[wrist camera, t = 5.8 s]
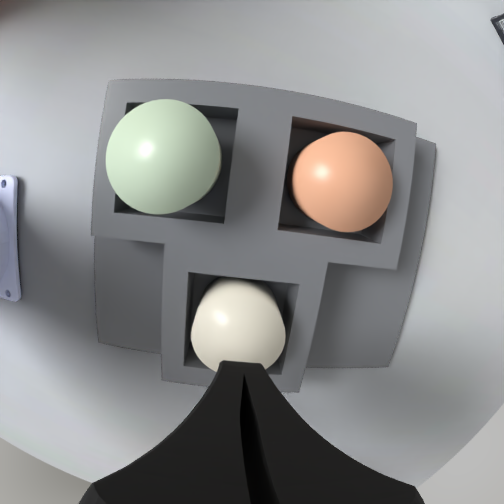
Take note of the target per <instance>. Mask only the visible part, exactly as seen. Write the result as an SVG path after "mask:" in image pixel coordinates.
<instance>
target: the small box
mask: <svg viewBox="0 0 504 504" xmlns="http://www.w3.org/2000/svg"><path fill="white" fill-rule="evenodd" d="M491 21H492V23H493V25H494V27H495V29H496V30H497V32H498V34H499V36H500V38H501V40H502V42H503V44H504V14H502V15H499V16H495V17H493V18H491Z"/></svg>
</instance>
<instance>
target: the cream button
mask: <svg viewBox="0 0 504 504" xmlns="http://www.w3.org/2000/svg"><path fill="white" fill-rule="evenodd" d="M285 338H286V335H285V327H284V324H283V321H282V318H281V315H280V311H279V308H278V305H277V302H276V299H275V296H274V294H273V292H272V291H271V289H270V288H269V287H268V286H267V285H266V284H265V283H264V282H263V281H261V280H256V279H246V278H237V277H228V276H221V277H219V278H217V279H216V280H214V281H213V282H212V283H210V284H209V285H208V286H207V288H206V289H205V290H204V292H203V294H202V296H201V298H200V302H199V305H198V308H197V312H196V315H195V319H194V322H193V326H192V331H191V341H192V345H193V348H194V351H195V353H196V355H197V356H198V358H199V359H200V360H201V361H202V362H203V363H204V364H205V365H206V366H207V367H209V368H210V369H212V370H213V371H215V372H217V370H218V367H219V363H220V362H221V361H223V360H227V361H238V362H250V363H261V364H262V365H263V366H264V368H265V369H267V368H268V367H270V366H271V365H272V364H273V363H274V362H275V361H276V360H277V359H278V357H279V356H280V354H281V352H282V350H283V348H284V344H285Z"/></svg>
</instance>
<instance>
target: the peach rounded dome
mask: <svg viewBox="0 0 504 504" xmlns="http://www.w3.org/2000/svg"><path fill="white" fill-rule="evenodd" d="M287 188H288V192H289V195H290V198H291V200H292V202H293V203H294V205H295V206H296V207H297V208H298V210H299V211H300V212H302V213H303V214H304V215H306V216H307V217H309V218H311V219H313V220H315V221H316V222H318V223H320V224H322V225H324V226H326V227H328V228H330V229H332V230H335V231H340V232H355V231H359V230H362V229H365V228H367V227H369V226H371V225H372V224H373V223H375V222H376V221H377V220H378V219H379V218H380V217H381V216H382V214H383V213H384V212H385V210H386V208H387V206H388V204H389V202H390V199H391V195H392V189H393V178H392V172H391V168H390V165H389V162H388V160H387V158H386V156H385V155H384V153H383V152H382V150H381V149H380V148H379V147H378V146H377V145H376V144H375V143H374V142H372V141H371V140H370V139H368V138H366V137H364V136H362V135H360V134H357V133H352V132H336V133H332V134H329V135H327V136H325V137H322V138H320V139H318V140H316V141H314V142H312V143H310V144H308V145H306V146H305V147H303V148H302V149H301V150H299V151H298V152H297V154H296V155H295V156H294V158H293V159H292V161H291V163H290V165H289V168H288V173H287Z"/></svg>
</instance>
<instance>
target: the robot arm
mask: <svg viewBox="0 0 504 504" xmlns="http://www.w3.org/2000/svg"><path fill="white" fill-rule="evenodd" d="M5 181H6V183H7V184H6V186H5ZM17 187H18V181H17V178H16V177H15V176H13V175H0V298H3V299H7V300H10V301H14V302H17V301H18V300H19V299H20V298H21V289H20V279H19V268H18V252H17ZM9 291H10V293H9ZM79 504H425V503H424V501H423V499H422V497H421V496H420V494H419V492H418V491H417V489H416V488H415V486H412V485H409V484H406V483H404V482H401V481H398V480H396V479H393V478H390V477H388V476H385V475H383V474H381V473H378V472H376V471H374V470H372V469H371V468H369V467H367V466H365V465H363V464H361V463H359V462H357V461H356V460H354V459H352V458H351V457H349V456H348V455H346V454H345V453H343V452H342V451H340V450H339V449H337V448H336V447H334V446H333V445H332V444H330V443H329V442H328V441H326V440H325V439H324V438H323V437H322V436H320V435H319V434H318V433H317V432H316V431H315V430H313V429H312V428H311V427H310V426H309V425H308V424H307V423H306V422H305V421H304V420H303V419H302V418H301V417H300V415H299V414H298V413H297V412H296V411H295V410H294V409H293V407H292V406H291V405H290V404H289V403H288V401H287V400H286V399H285V397H284V396H283V395H282V394H281V392H280V391H279V390H278V388H277V387H276V385H275V384H274V382H273V381H272V379H271V378H270V376H269V375H268V373H267V371H266V370H265V368H264V366H263V365H262V364H261V363H250V362H238V361H227V360H223V361H221V362H220V363H219V367H218V370H217V372H216V375H215V377H214V379H213V381H212V382H211V384H210V386H209V387H208V389H207V391H206V392H205V394H204V395H203V397H202V398H201V400H200V401H199V402H198V404H197V405H196V406H195V407H194V409H193V410H192V411H191V413H190V414H189V415H188V416H187V417H186V418H185V420H184V421H183V422H182V423H181V424H180V425H179V426H178V427H177V428H176V429H175V430H174V431H173V432H172V433H171V434H169V435H168V436H167V437H166V438H165V439H164V440H163V441H162V442H160V443H159V444H158V445H157V446H155V447H154V448H153V449H152V450H150V451H149V452H147V453H146V454H144V455H143V456H141V457H140V458H138V459H137V460H135V461H134V462H132V463H131V464H129V465H127V466H126V467H124V468H122V469H120V470H118V471H116V472H114V473H112V474H110V475H108V476H106V477H104V478H102V479H100V480H98V481H96V482H94V483H92V484H91V485H90V487H89V488H88V490H87V491H86V493H85V494H84V496H83V497H82V499H81V501H80V503H79Z"/></svg>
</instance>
